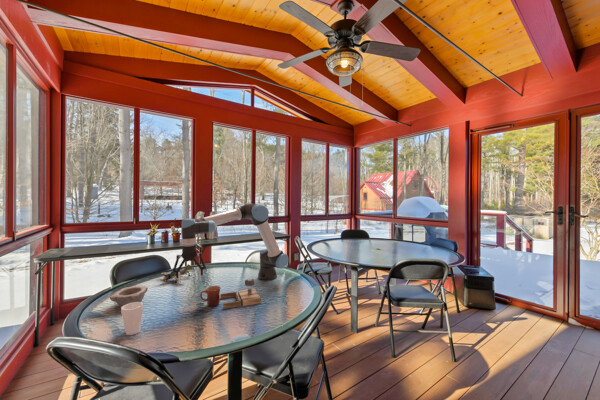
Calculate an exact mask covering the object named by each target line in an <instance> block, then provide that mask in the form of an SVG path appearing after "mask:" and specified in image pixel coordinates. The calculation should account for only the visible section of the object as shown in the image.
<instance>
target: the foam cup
mask: <svg viewBox="0 0 600 400" xmlns="http://www.w3.org/2000/svg"><path fill="white" fill-rule="evenodd" d="M143 312H144V303H143V301H141V302H134V303H129V304H126V305H124V306H122V307H120V313H121V316H122V320H123V322H122V323H123V326H124V332H125V335H127V336H133V335H135V334H138V333H140V331H141V329H142V323H143V322H142V321H143V320H142V319H143Z"/></svg>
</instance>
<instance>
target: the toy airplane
mask: <svg viewBox="0 0 600 400" xmlns="http://www.w3.org/2000/svg"><path fill="white" fill-rule="evenodd" d="M179 272H180V281H185V280H187V277H185V276H184V275H187V276H188V277H191V273H193V272H194V269H193V267H192V265H191V264H189V263H188V264H187V265H186V266H185V268H183V267H182V268H181V269H180V270H179ZM160 275H162V276H163V277H162V279H163V282H165V281H166V282H167V283H168V282H169V280H172V279H174V280H175V281H174V284H177V283H178V278H176V273H175V272H173V270H171V272H161V273H160Z"/></svg>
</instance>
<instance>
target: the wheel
mask: <svg viewBox="0 0 600 400" xmlns="http://www.w3.org/2000/svg"><path fill="white" fill-rule="evenodd" d="M244 286H246V287H252V286H255V279H253V278H247V279H245V280H244Z"/></svg>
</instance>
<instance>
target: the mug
mask: <svg viewBox="0 0 600 400" xmlns="http://www.w3.org/2000/svg"><path fill="white" fill-rule="evenodd" d="M220 292H221V286H219V285H211V286H208V287H206V288H205V290H201V292H200V293H199V297H200V299H201V301H202V302H203V301H204V302H206V303H207V306H208V307H211V308H213V307H214V308H215V307H217V306H219V305H220V302H221V299H220V294H221V293H220ZM204 293H205V294H206V298H203V297H202V296H203V294H204Z"/></svg>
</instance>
